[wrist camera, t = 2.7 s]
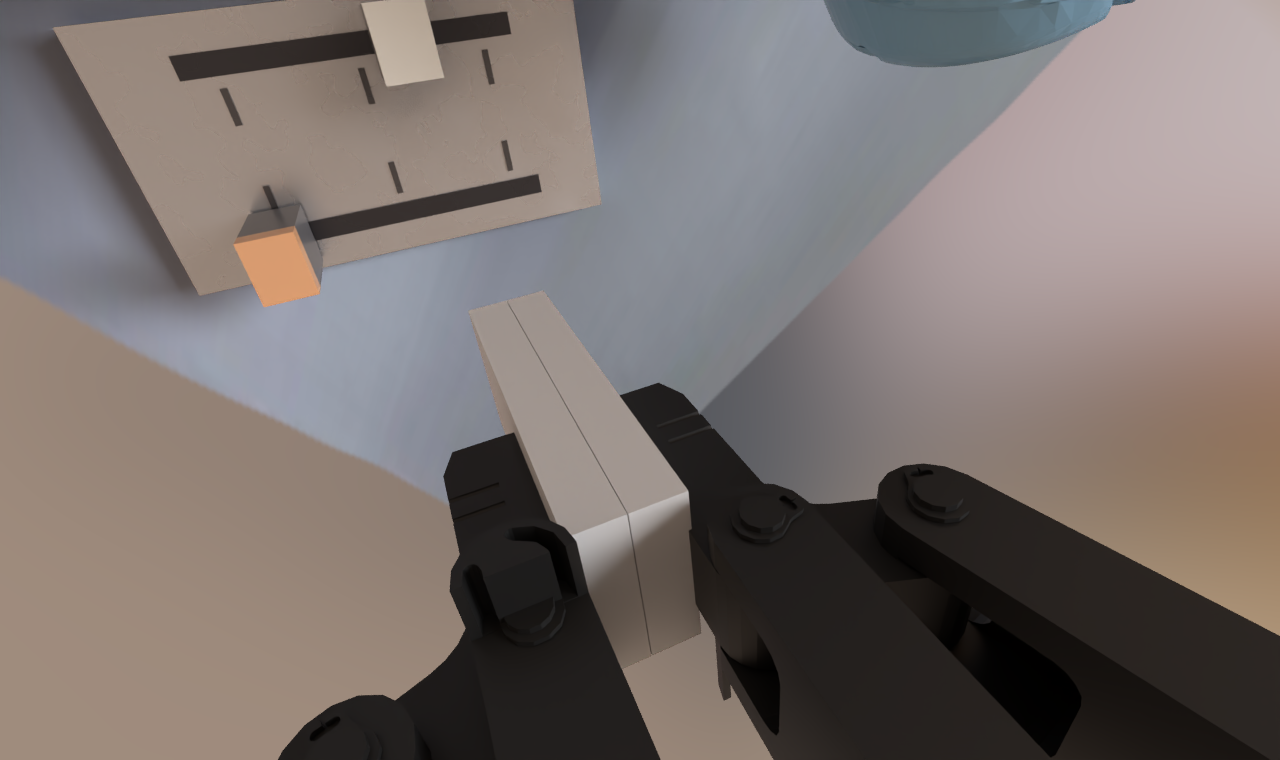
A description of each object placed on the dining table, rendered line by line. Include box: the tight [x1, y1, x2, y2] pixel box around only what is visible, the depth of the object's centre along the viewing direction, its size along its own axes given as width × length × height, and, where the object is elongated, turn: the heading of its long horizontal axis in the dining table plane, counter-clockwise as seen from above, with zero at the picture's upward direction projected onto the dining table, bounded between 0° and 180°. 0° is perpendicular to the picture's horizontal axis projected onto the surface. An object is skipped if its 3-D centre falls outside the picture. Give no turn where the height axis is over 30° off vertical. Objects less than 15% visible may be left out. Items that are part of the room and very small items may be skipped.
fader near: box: [360, 0, 444, 87], centre depth 27 cm, size 3×2×5 cm
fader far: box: [233, 204, 323, 307], centre depth 29 cm, size 3×2×5 cm
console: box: [53, 0, 601, 296], centre depth 32 cm, size 12×22×2 cm, turn 96°
